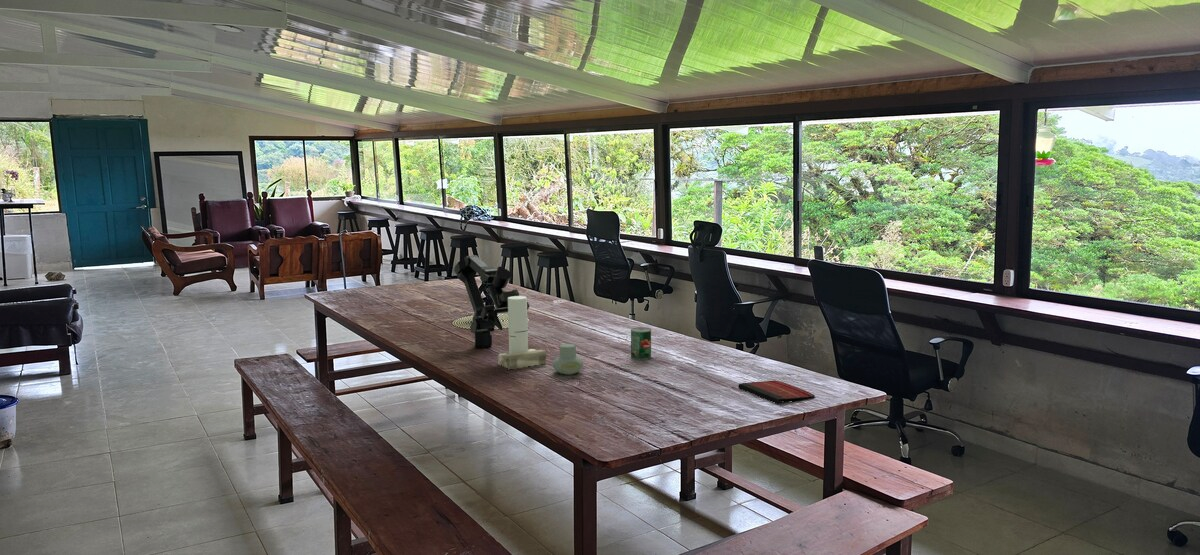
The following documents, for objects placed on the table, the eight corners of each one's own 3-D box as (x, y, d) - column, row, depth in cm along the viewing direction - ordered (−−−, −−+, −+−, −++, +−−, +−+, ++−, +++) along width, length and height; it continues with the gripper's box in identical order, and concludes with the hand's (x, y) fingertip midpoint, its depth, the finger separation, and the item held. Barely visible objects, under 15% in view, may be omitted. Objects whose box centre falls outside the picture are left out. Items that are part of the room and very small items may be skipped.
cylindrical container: (527, 365, 307) (525, 299, 303) (508, 365, 307) (506, 299, 303) (529, 360, 314) (527, 295, 310) (510, 360, 314) (509, 296, 310)
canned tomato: (649, 360, 312) (649, 331, 311) (629, 359, 314) (629, 331, 312) (652, 355, 320) (652, 327, 319) (632, 354, 322) (632, 327, 320)
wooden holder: (498, 364, 308) (498, 351, 307) (533, 358, 316) (533, 346, 315) (510, 369, 300) (509, 356, 299) (545, 364, 308) (545, 351, 307)
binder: (778, 398, 256) (738, 382, 274) (778, 406, 256) (737, 389, 274) (818, 393, 263) (776, 378, 281) (817, 400, 263) (775, 385, 282)
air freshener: (555, 376, 290) (555, 349, 289) (550, 371, 298) (550, 344, 297) (585, 374, 293) (585, 347, 292) (579, 368, 301) (579, 342, 300)
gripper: (482, 285, 309) (496, 318, 301) (526, 280, 319) (541, 312, 311) (474, 302, 317) (488, 335, 309) (517, 298, 327) (531, 329, 319)
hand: (512, 328), depth 312 cm, fingers open, 9 cm apart
